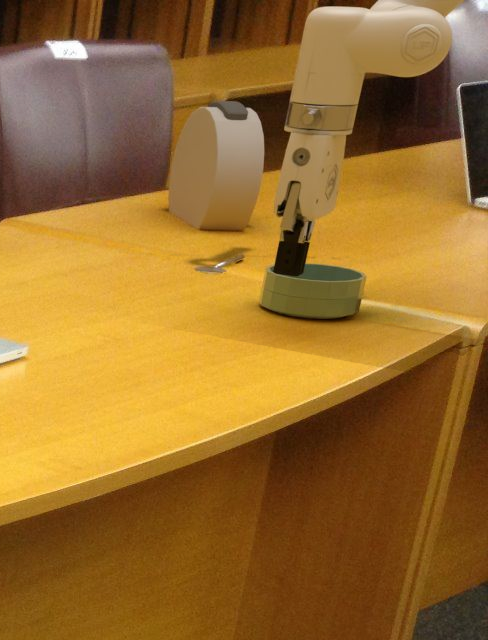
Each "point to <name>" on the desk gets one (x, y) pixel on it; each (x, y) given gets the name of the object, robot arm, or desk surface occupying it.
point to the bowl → (314, 292)
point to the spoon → (219, 265)
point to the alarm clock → (217, 167)
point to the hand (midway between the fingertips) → (287, 273)
